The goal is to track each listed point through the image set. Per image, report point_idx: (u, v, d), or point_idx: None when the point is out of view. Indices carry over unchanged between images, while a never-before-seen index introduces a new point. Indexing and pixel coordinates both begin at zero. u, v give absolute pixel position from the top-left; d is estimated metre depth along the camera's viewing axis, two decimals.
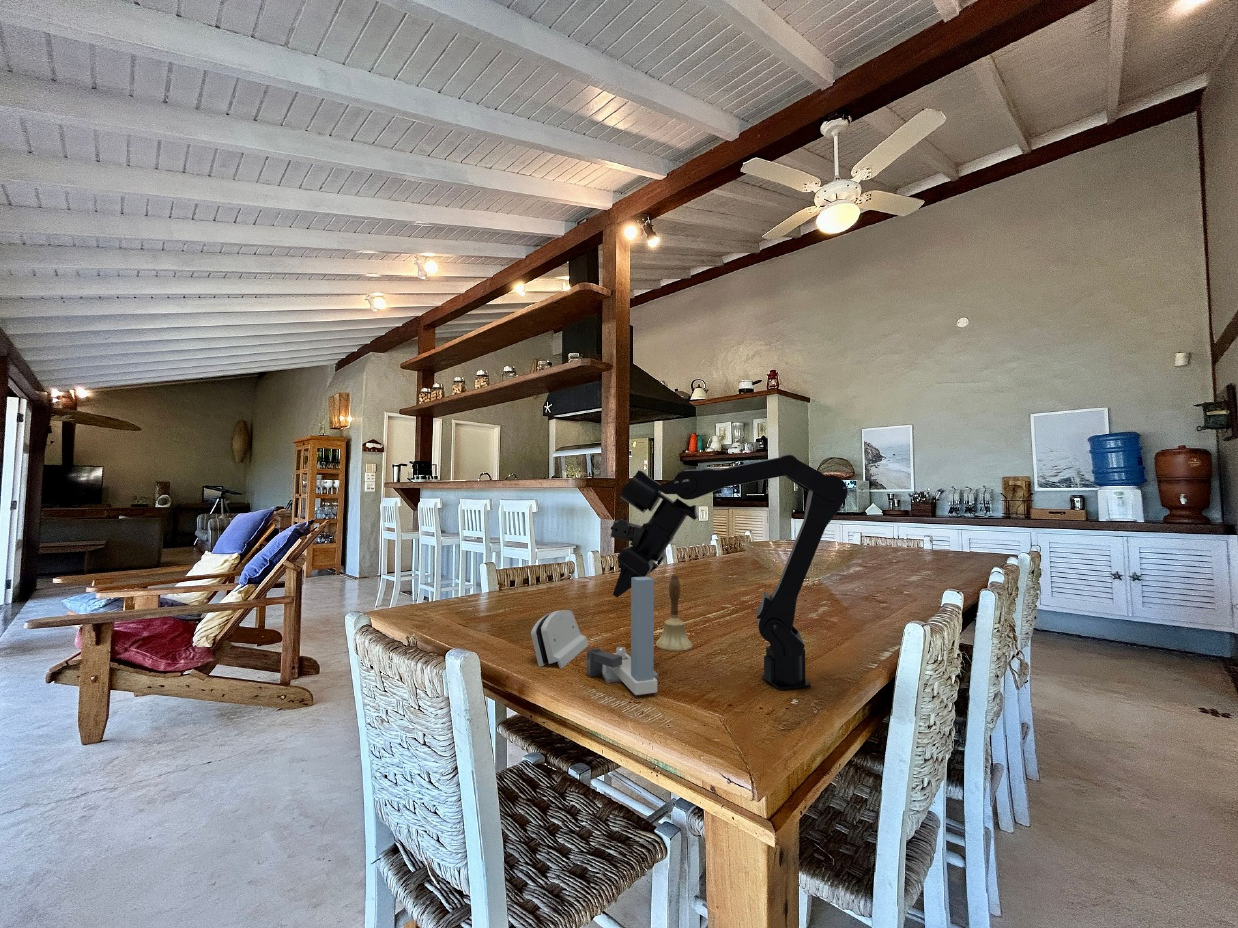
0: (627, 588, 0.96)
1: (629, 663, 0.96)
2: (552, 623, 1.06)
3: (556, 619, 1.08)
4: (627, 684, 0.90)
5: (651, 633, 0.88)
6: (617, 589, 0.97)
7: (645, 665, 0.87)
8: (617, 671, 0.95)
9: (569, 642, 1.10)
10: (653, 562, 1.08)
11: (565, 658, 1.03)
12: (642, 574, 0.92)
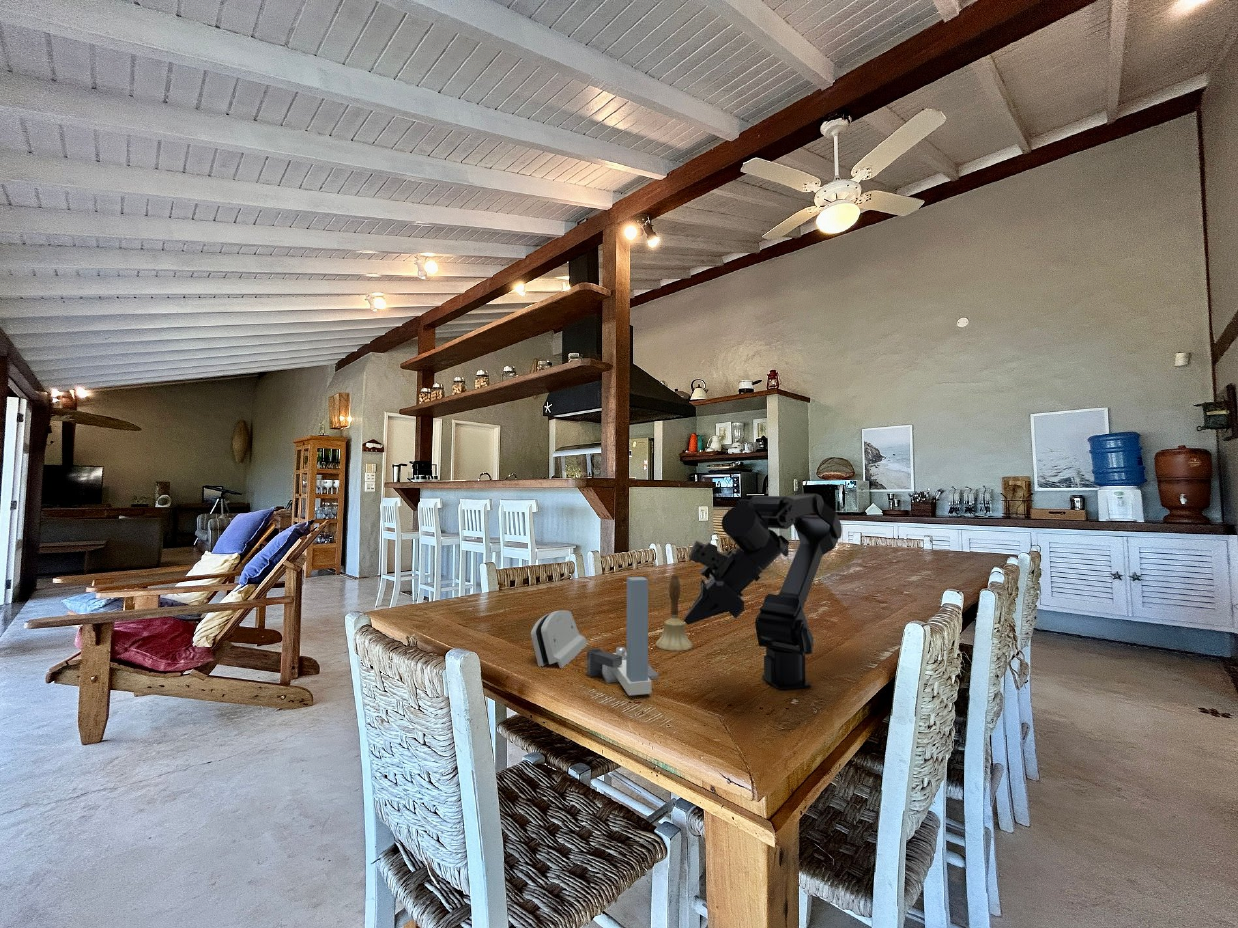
0: (703, 617, 0.87)
1: None
2: (552, 623, 1.06)
3: (556, 619, 1.08)
4: (622, 684, 0.90)
5: (645, 634, 0.88)
6: (691, 616, 0.88)
7: (639, 666, 0.87)
8: (615, 671, 0.95)
9: (568, 643, 1.10)
10: None
11: (565, 658, 1.03)
12: (735, 615, 0.79)
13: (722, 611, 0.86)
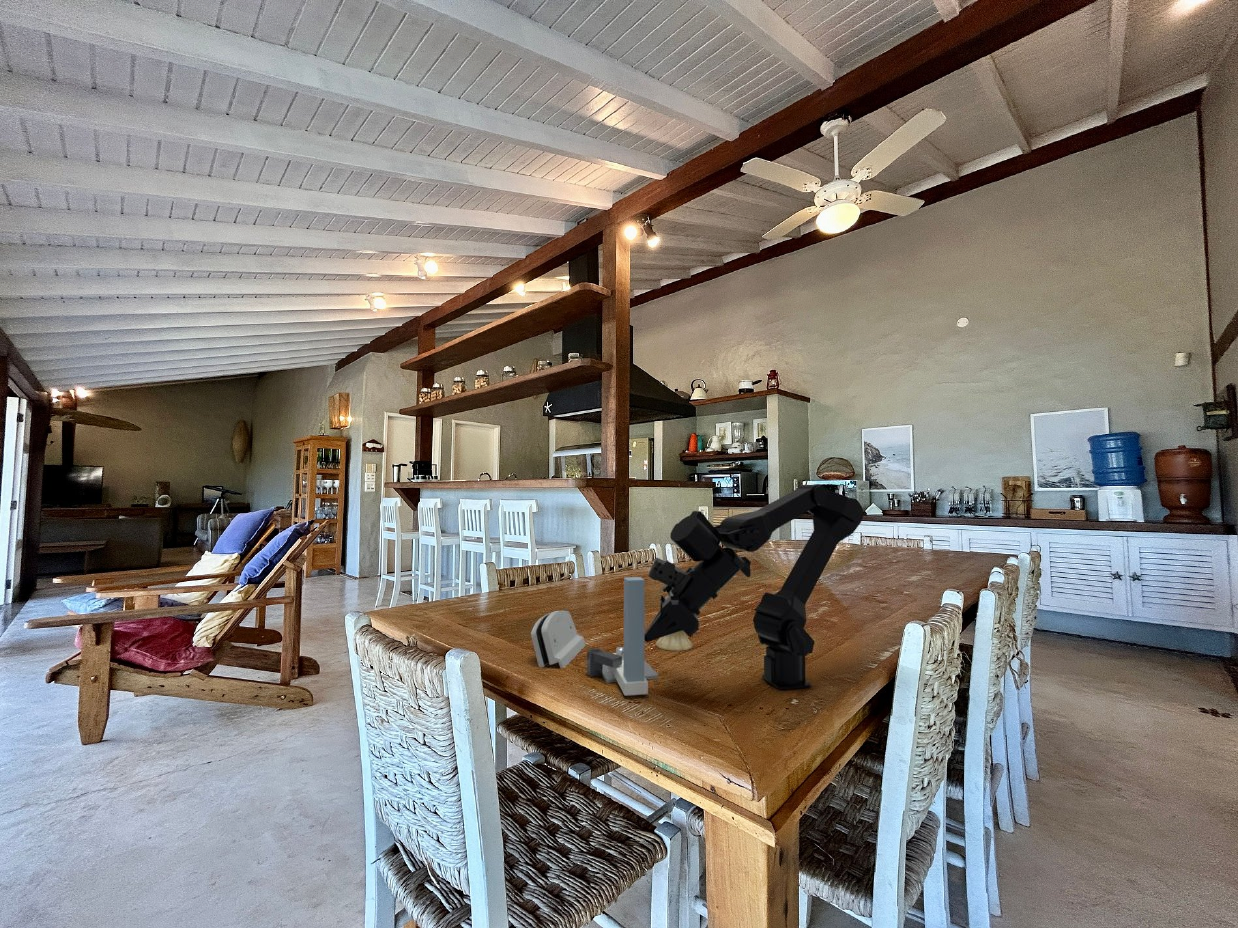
0: (662, 635, 0.87)
1: None
2: (552, 624, 1.06)
3: (555, 619, 1.08)
4: (620, 684, 0.90)
5: (642, 634, 0.87)
6: (649, 634, 0.88)
7: (635, 666, 0.87)
8: (614, 670, 0.95)
9: (567, 643, 1.09)
10: None
11: (565, 658, 1.03)
12: (689, 634, 0.79)
13: (680, 629, 0.86)
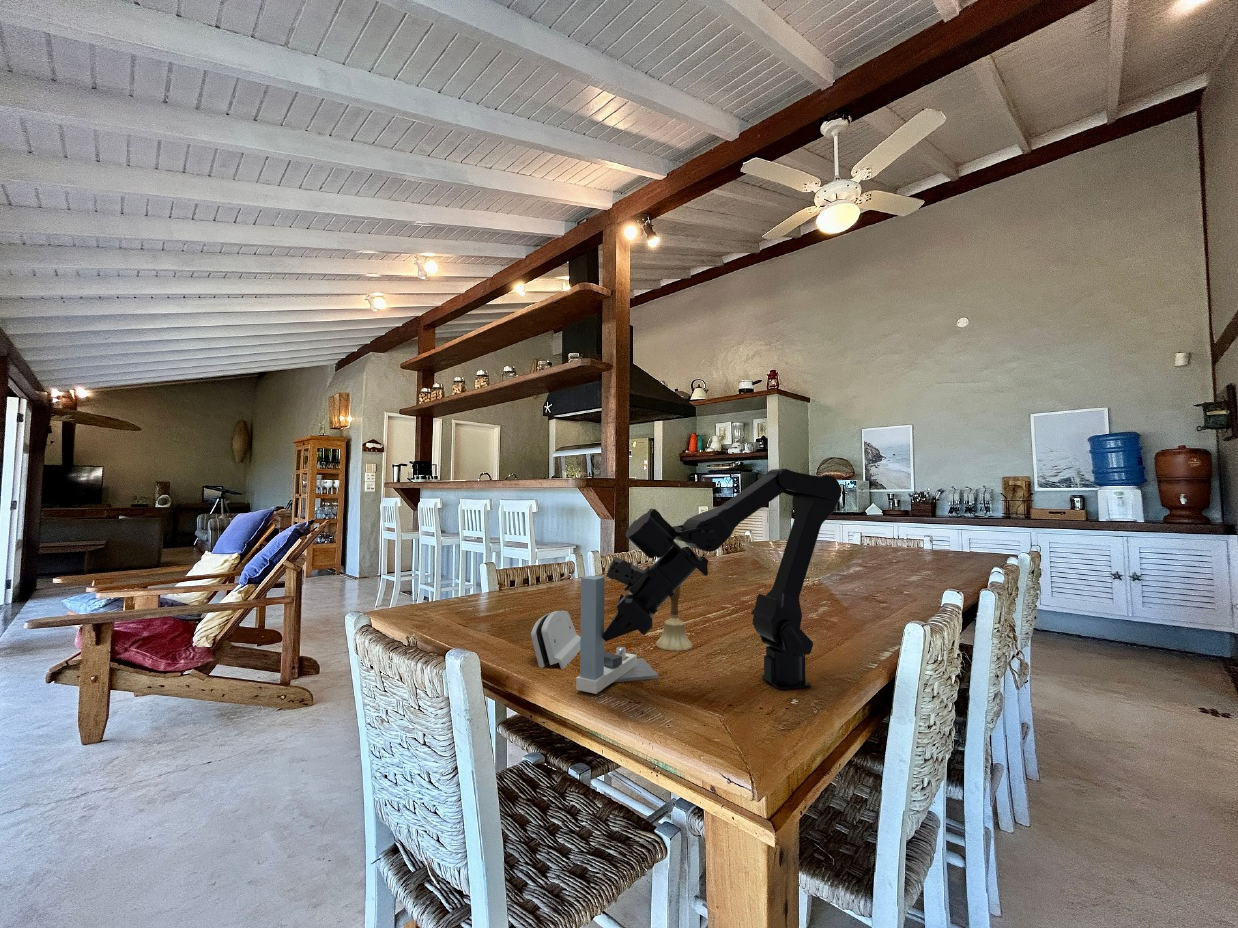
0: (620, 634, 0.88)
1: None
2: (552, 624, 1.05)
3: (555, 620, 1.08)
4: None
5: (593, 633, 0.88)
6: (608, 633, 0.88)
7: (587, 663, 0.88)
8: None
9: (567, 643, 1.09)
10: None
11: (565, 659, 1.03)
12: (643, 632, 0.80)
13: None
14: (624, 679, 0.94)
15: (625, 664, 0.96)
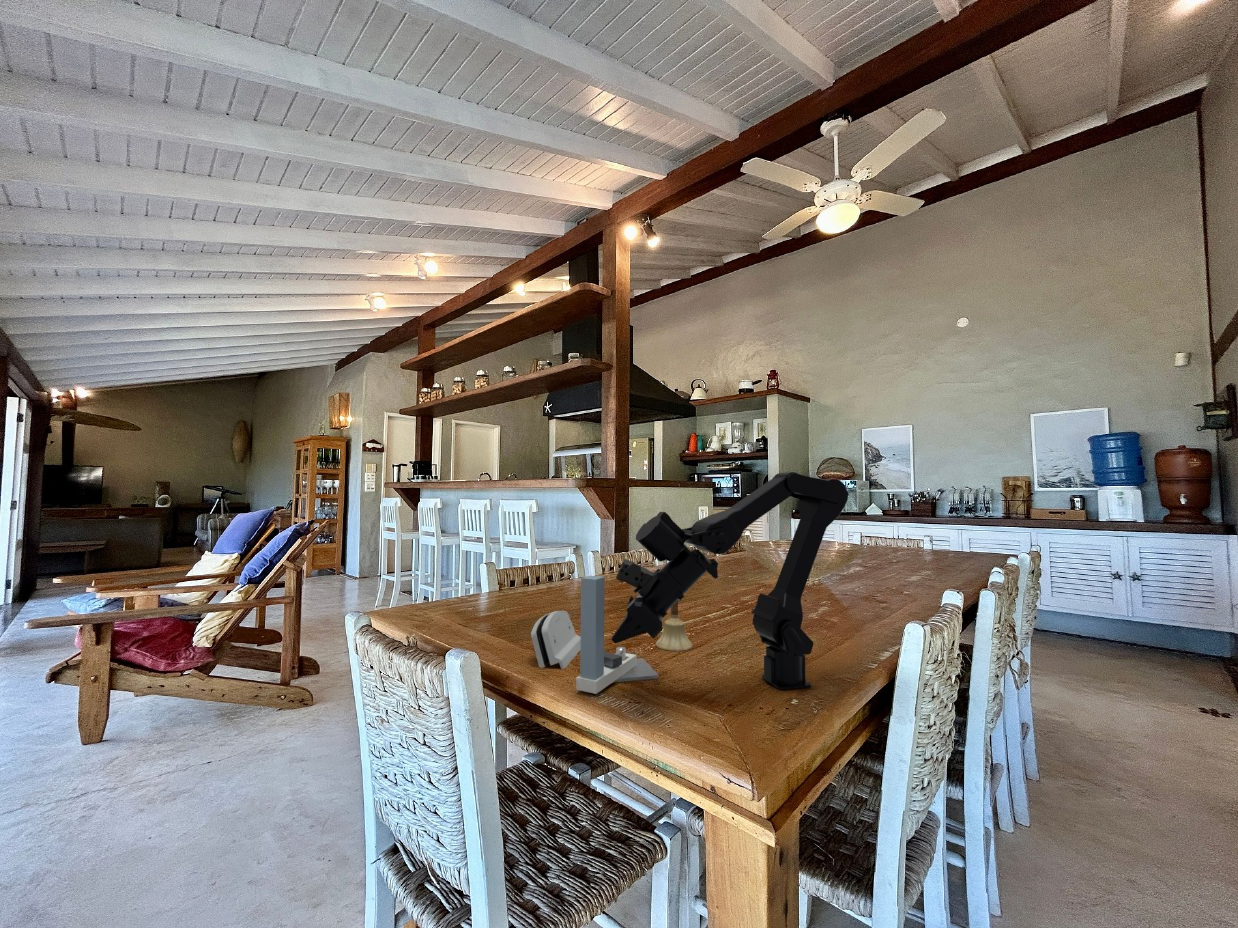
0: (629, 636, 0.88)
1: None
2: (552, 624, 1.05)
3: (555, 620, 1.08)
4: None
5: (593, 633, 0.88)
6: (617, 635, 0.88)
7: (587, 663, 0.88)
8: None
9: (567, 643, 1.09)
10: None
11: (565, 659, 1.03)
12: (652, 635, 0.80)
13: None
14: (624, 679, 0.94)
15: (625, 664, 0.96)
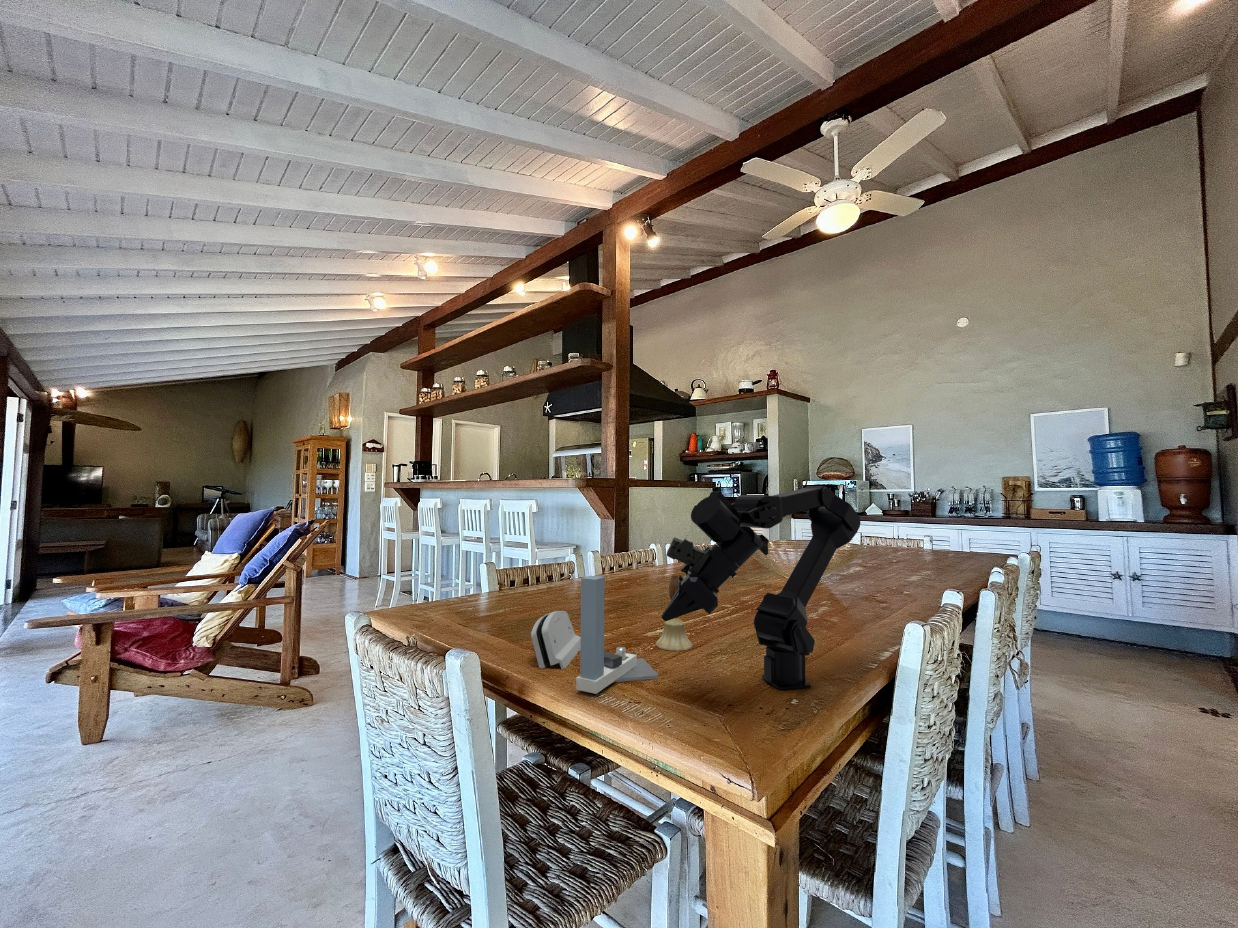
0: (680, 614, 0.87)
1: None
2: (552, 624, 1.05)
3: (555, 620, 1.07)
4: None
5: (593, 633, 0.88)
6: (668, 613, 0.88)
7: (587, 663, 0.88)
8: None
9: (566, 643, 1.09)
10: None
11: (565, 659, 1.03)
12: (708, 611, 0.79)
13: (698, 608, 0.86)
14: (624, 679, 0.94)
15: (625, 664, 0.96)
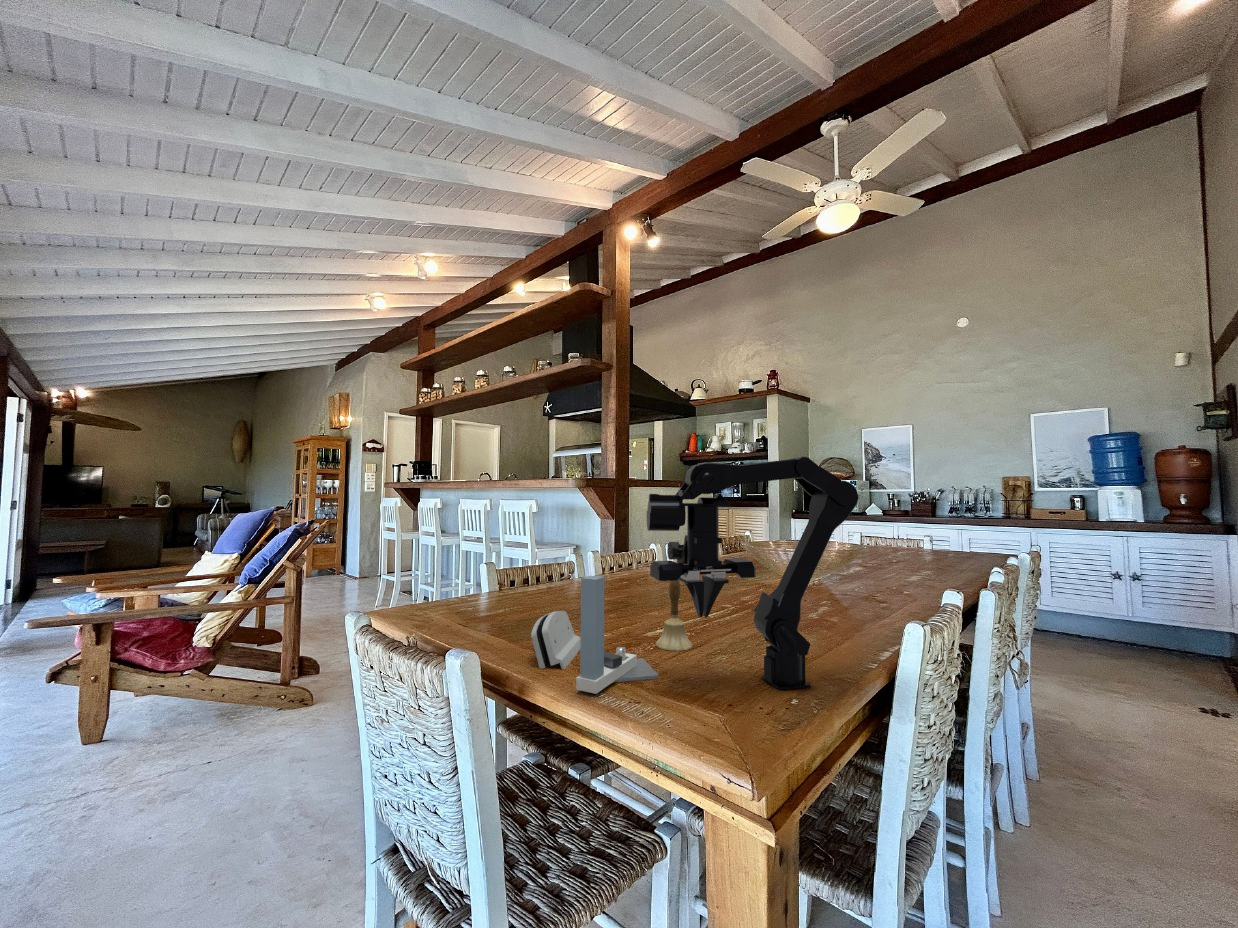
0: (697, 602, 0.92)
1: None
2: (552, 625, 1.05)
3: (555, 620, 1.07)
4: None
5: (593, 633, 0.88)
6: (696, 608, 0.94)
7: (587, 663, 0.88)
8: None
9: (566, 643, 1.09)
10: (724, 579, 0.93)
11: (565, 659, 1.03)
12: (659, 578, 0.89)
13: (694, 586, 0.91)
14: (624, 679, 0.94)
15: (625, 664, 0.96)
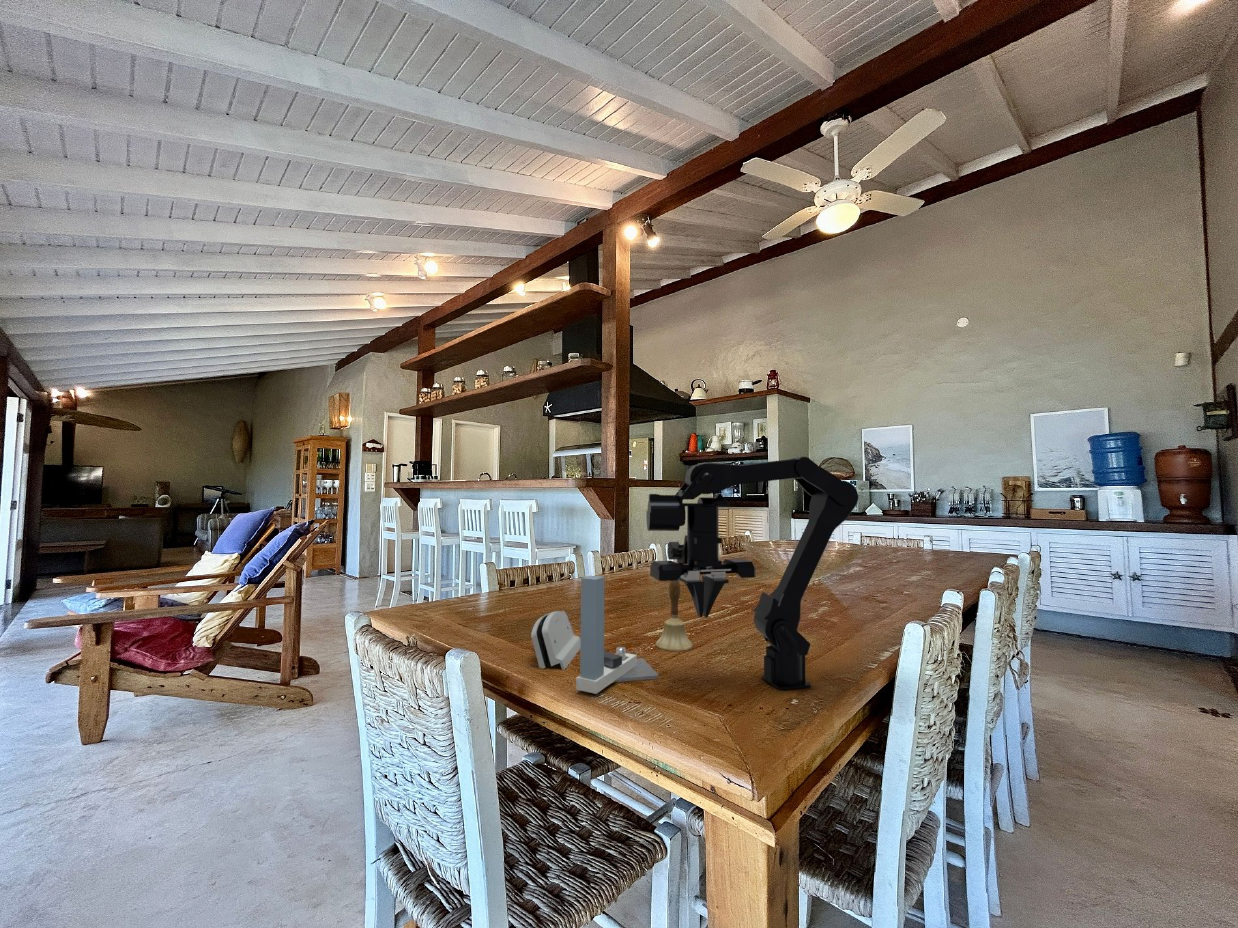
0: (697, 602, 0.92)
1: None
2: (552, 625, 1.05)
3: (554, 620, 1.07)
4: None
5: (593, 633, 0.88)
6: (696, 608, 0.94)
7: (587, 663, 0.88)
8: None
9: (566, 644, 1.09)
10: (724, 579, 0.93)
11: (566, 659, 1.02)
12: (659, 578, 0.89)
13: (694, 586, 0.91)
14: (624, 679, 0.94)
15: (625, 664, 0.96)
